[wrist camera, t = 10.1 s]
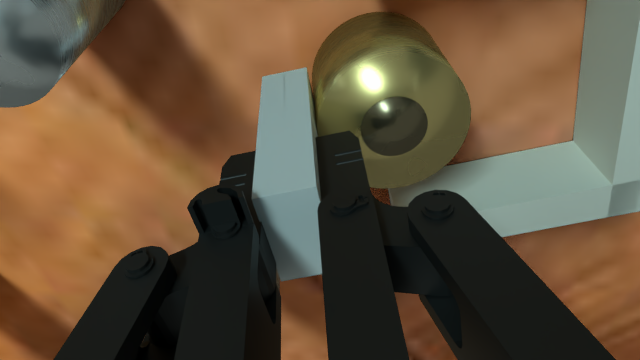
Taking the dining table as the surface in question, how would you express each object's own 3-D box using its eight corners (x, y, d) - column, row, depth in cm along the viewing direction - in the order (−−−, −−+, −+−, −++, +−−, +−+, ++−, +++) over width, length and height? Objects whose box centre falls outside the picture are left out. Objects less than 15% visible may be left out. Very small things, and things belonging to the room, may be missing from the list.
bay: (340, -111, 15) (350, -96, 12) (660, -189, 14) (739, -190, 12) (390, 206, 22) (404, 255, 19) (606, 163, 21) (649, 209, 19)
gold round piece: (298, 28, 17) (302, 73, 14) (436, -2, 17) (469, 37, 14) (325, 143, 20) (333, 201, 17) (444, 118, 19) (473, 174, 16)
